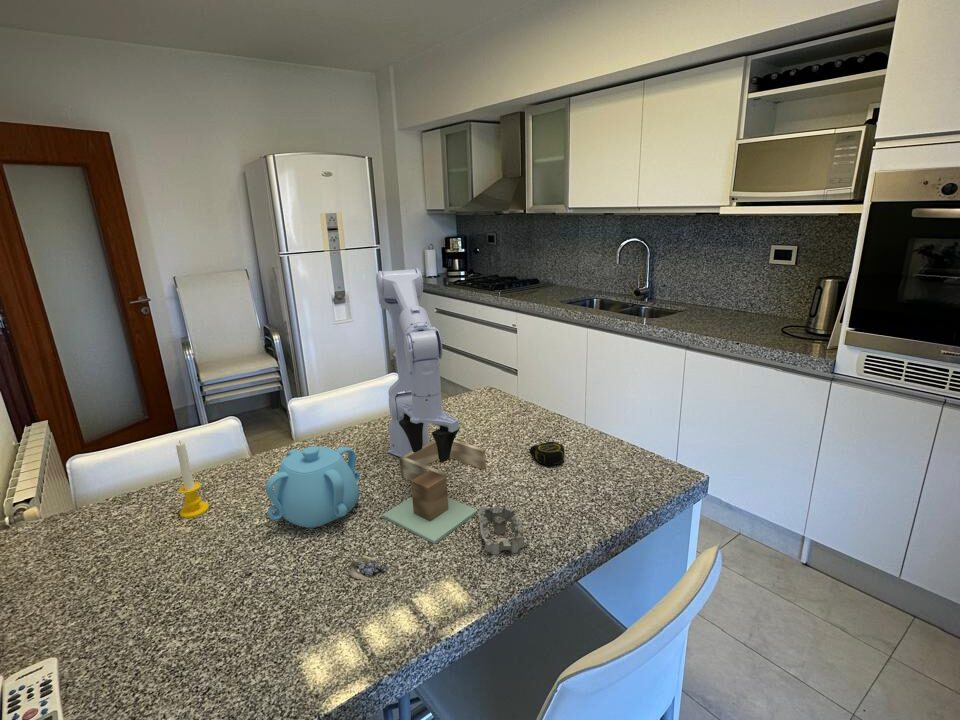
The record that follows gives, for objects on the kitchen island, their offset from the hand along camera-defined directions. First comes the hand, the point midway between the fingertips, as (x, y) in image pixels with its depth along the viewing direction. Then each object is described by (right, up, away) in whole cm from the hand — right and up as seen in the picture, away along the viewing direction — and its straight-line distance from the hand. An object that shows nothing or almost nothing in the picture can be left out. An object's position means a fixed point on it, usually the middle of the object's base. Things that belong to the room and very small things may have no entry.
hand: (430, 455), depth 102 cm
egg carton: (+14, -13, -11) cm, 22 cm away
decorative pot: (-22, -11, -1) cm, 25 cm away
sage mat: (0, -11, -4) cm, 11 cm away
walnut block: (0, -10, -4) cm, 11 cm away
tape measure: (+25, -4, +16) cm, 30 cm away
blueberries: (-8, -16, -18) cm, 25 cm away
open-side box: (+2, -6, +12) cm, 14 cm away
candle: (-48, -12, +1) cm, 49 cm away
